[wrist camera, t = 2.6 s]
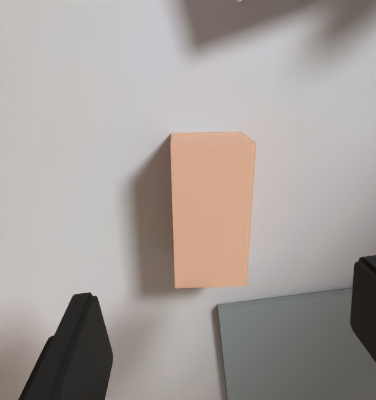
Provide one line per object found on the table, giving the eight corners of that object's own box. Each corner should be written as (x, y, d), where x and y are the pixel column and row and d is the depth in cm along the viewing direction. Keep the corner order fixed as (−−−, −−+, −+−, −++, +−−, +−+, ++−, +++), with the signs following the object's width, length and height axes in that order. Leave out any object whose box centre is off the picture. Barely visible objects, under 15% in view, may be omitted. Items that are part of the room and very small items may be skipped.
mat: (470, 273, 24) (477, 277, 24) (440, 398, 29) (445, 404, 29) (217, 304, 25) (218, 309, 24) (229, 423, 30) (231, 430, 29)
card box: (241, 131, 20) (256, 142, 16) (235, 253, 23) (246, 285, 20) (171, 132, 20) (170, 144, 16) (174, 255, 23) (175, 288, 19)
